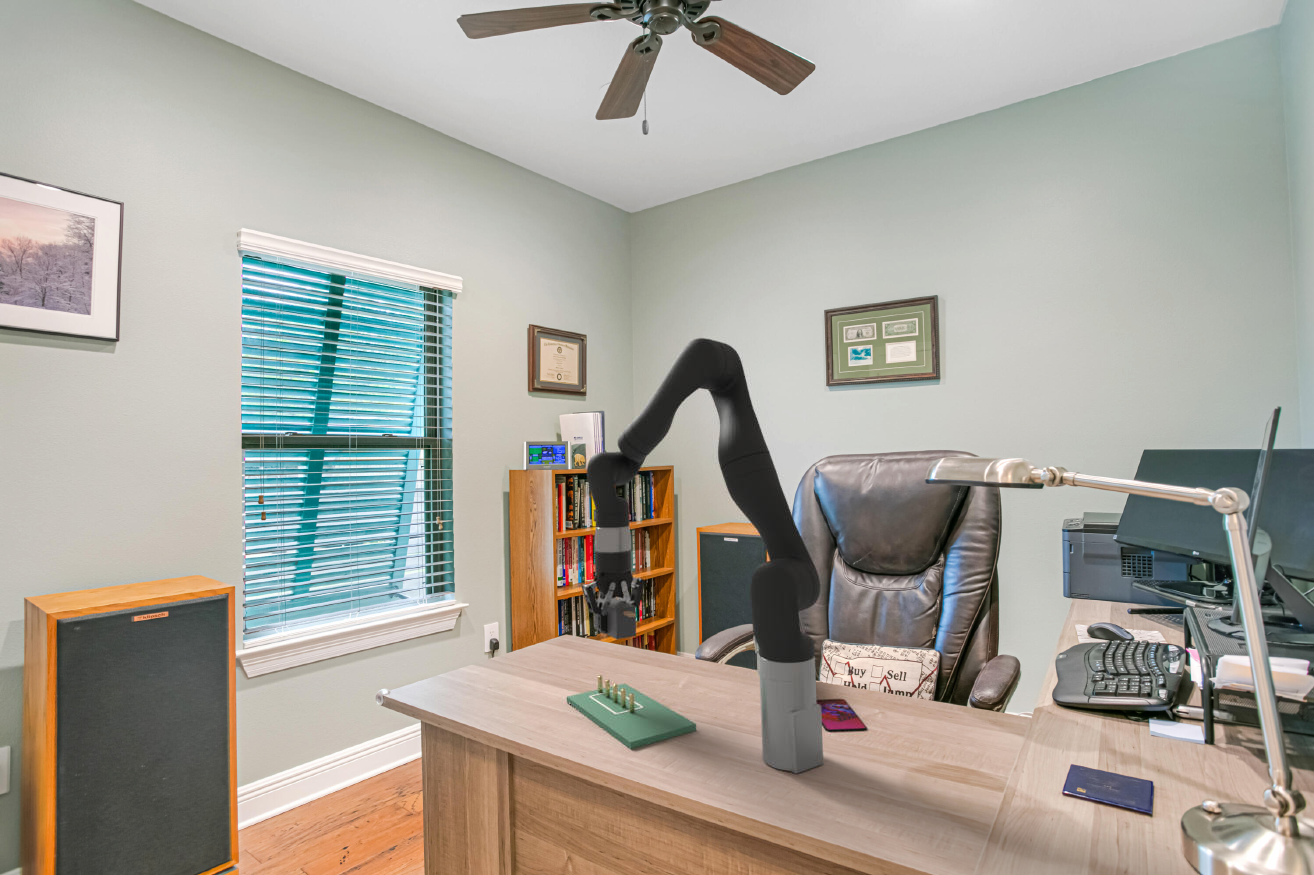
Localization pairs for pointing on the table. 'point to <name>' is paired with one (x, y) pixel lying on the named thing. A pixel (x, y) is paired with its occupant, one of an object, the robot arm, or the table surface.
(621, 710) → the header board
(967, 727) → the table surface
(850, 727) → the smartphone
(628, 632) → the plug housing
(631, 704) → the header pins
